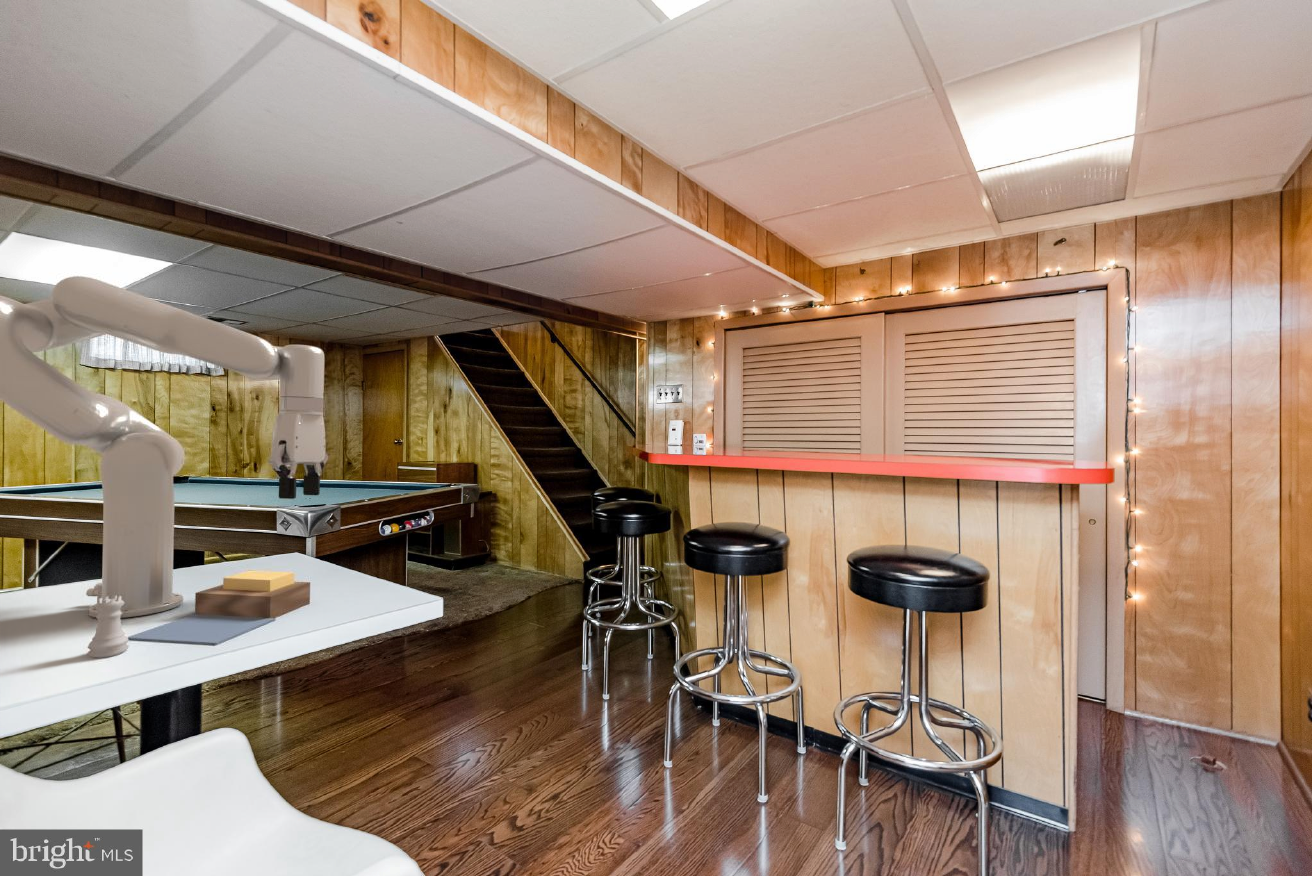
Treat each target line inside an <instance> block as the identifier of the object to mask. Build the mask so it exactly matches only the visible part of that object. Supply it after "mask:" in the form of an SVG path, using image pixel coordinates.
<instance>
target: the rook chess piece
mask: <svg viewBox="0 0 1312 876" xmlns="http://www.w3.org/2000/svg"><path fill="white" fill-rule="evenodd" d="M108 598H109V597H108V596H107V597H104V600H102V598H99V599H98V600H97V599H96V603H95V604H96V605H95V604H94V605H95V606H94V608H95V609H96V610H97V611H98V615H97V616H96V617H95V619H97V625H96V628H95V629H96V630H95V634H94V636H93V637H92V640H91V641H90V642H88V646H87V649H88V650H89V651H88V652H87V653H86V655H87V656H88V657H89V658H91V659H105V658H111V657H117V656H119V655H121V654H124V653H125V652H126V651H128V649H129V648H130V645H128V643H129V641H130V640H128V637H129V636H126V633H125V632H124V631H123V628H122V621H121V618H120V616H121V614H122V612H121V611H120V608H121V607H122V606H123V604H124V603H125V602H124V601H123V600H121V596H118V598H117V596H112V599H108Z"/></svg>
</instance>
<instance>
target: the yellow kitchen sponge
mask: <svg viewBox="0 0 1312 876" xmlns="http://www.w3.org/2000/svg"><path fill="white" fill-rule="evenodd" d="M222 581H223V582H222V583H223V584H222V585H223V589H232V590H252V591H273V590H276V589H279V588H281V587H284V586H287V585H290V584H293V583H294V582H295V571H294V572H293V571H291V572H290V571H274V570H273V571H272V570H267V571H266V570H247V571H243V572H240V573H236V574H233V575H228V576H226V577H223V580H222Z"/></svg>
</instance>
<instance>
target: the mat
mask: <svg viewBox="0 0 1312 876" xmlns="http://www.w3.org/2000/svg"><path fill="white" fill-rule="evenodd" d="M276 618H277V617H276ZM276 618H259V617H240V616H222V615H204V614H195V613H194V614H191V615H188V616H185V617H183V618H180V619H177V620H173V621H171V622H168V623H167V622H166V623H165V624H162V625H161V624H160V625H159V626H156V627H153V628H151V629H146V630H144V631H142V632H139V633H138V632H137V633H136V634H133V635H130V636H127V637H128V640H129V641H130V640H131V641H146V642H161V643H175V644H176V643H178V644H193V645H197V644H198V645H210V646H211V645H213V646H218V645H221V644H222V643H224V642H228V641H229V640H233V639H234V638H237V637H239V636H242V635H243V634H245V633H249V632H250V631H253V630H256V629H257V628H261V627H263V626H265V625H267V624H270V623H272V622H274V621H275V622H276Z"/></svg>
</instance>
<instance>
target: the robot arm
mask: <svg viewBox="0 0 1312 876" xmlns="http://www.w3.org/2000/svg"><path fill="white" fill-rule="evenodd" d="M105 335H109V336H111V337H115V338H118V339H121V340H124V341H127V342H130V343H133V344H136V345H138V346H142V347H145V348H149V349H151V350H153V351H158V352H160V353H163V354H170V355H180V356H183V357H184V356H185V357H188V358H191V359H194V360H198V361H202V362H205V363H206V364H207V363H208V364H211V365H214V366H217V367H220V368H224V369H226V370H229V371H231V372H233V373H234V372H235V373H237V374H241V375H242V376H243V377H245V378H246V379H247V378H248V379H249V380H253V381H257V382H258V381H279V412H278V413H277V414H276V416H275V420H274V424H273V428H272V429H273V430H272V438H271V445H270V446H271V449H270V457H269V458H268V462H269V464H270V465H271V466H272V468H273V471H275V474H276V478H278V498H279V499H280V500H281V499H282V500H283V499H287V500H290V499H291V500H294V499H296V498H297V477H295V475H296V472H297V467H298V465H299V464H300V465H303V468H304V471H305V475H303V486H302V487H303V488H302V489H303V490H302V491H303V492H302V494H303V495H304V496H319V495H320V491H321V489H320V488H321V484H320V483H321V476H322V475H323V469H324V468H325V465H326V463H327V462H328V460H329V455H328V454H327V452H326V428H325V427H326V426H325V420H324V399H325V398H324V397H325V395H324V393H325V392H324V391H325V389H324V387H325V353H324V351H323V349H321V348H320V347H317V346H314V345H306V344H287V345H285V346H278V345H277V346H275V345H273V344H272V343H270V342H269V341H267V340H265V339H264V338H262V337H259V336H257V335H254V334H252V333H249V332H246V331H244V330H240V329H238V328H235V327H232V326H229V325H227V324H223V323H221V322H217V321H216V320H212V319H209V318H207V317H203V316H200V315H197V314H194V313H192V312H189V311H187V310H184V309H180V308H178V307H175V306H173V305H169V304H166V303H164V302H161V301H157V300H155V299H152V298H150V297H147V296H145V295H141V294H139V293H136V292H133V291H130V290H127V289H126V288H122V287H119V286H117V285H113V284H111V283H108V282H106V281H102V280H100V279H97V278H96V279H95V278H93V277H90V276H89V277H88V276H79V275H78V276H77V275H76V276H75V275H73V276H70V277H69V276H68V277H65V278H64V279H62V280H60V281H58V282H57V283H56V284H55V286H54V287H53V289H52V290H51V295H50V297H49V298H46V299H42V300H41V299H40V300H37V301H33V302H28V303H24V302H21V301H19V300H16V299H13V298H11V297H7V296H5V295H4V296H3V295H0V401H1V402H3V403H4V404H6V405H7V406H8V407H10V408H11V409H13V410H14V411H16V412H17V413H18V414H20V415H22V416H23V417H25V418H26V419H28V420H29V421H30V422H32V423H33V424H35V425H36V426H39V427H40V428H41V429H42V430H44V431H46V432H47V433H48V434H50V435H51V436H52V437H54V438H55V439H57V440H59V441H61V442H62V443H65V444H69V445H73V446H86V447H88V448H89V449H91V450H93V451H94V452H96V453H98V454H99V455H101V459H100V467H99V468H100V478H101V479H100V480H101V487H102V497H103V498H102V499H103V509H102V510H103V511H102V513H103V514H102V517H103V518H102V519H103V520H102V525H103V527H102V529H103V530H102V531H103V532H102V538H103V539H102V570H101V571H102V572H101V573H102V576H101V582H98V583H96V584H95V585H94V586H93V588H89V589H86V591H85V592H86V593H85V594H86V596H88V597H96V601H97V600H98V599H99V598H102V600H104V597H107V596H108V597H109V598H108V599H112V596H117V598H118V596H121V600H123V601H124V602H125V603H124V604H123V606H122V607H121V608H120V611H121V612H122V614H121V616H120V619H122V618H131V617H132V618H133V617H134V618H135V617H141V616H146V615H147V616H148V615H151V614H156V613H161V612H165V611H168V610H172V609H175V608H177V607H179V606H181V605H182V604H183V603H184V596H183V595H182V594H180V593H175V592H174V593H173V586H174V585H173V584H174V583H173V582H174V581H173V579H174V577H173V576H174V545H175V544H174V543H175V542H174V541H175V540H174V537H175V489H174V476H175V475H177V474H178V473H179V472H180V471H181V470H182V468H183V466H184V463H185V461H186V455H185V454H186V453H185V450H184V448H183V446H182V444H181V443H180V442H179V441H178V440H177V439H176V438H175V437H173V436H172V435H170V434H169V433H167V432H166V431H165V430H163V429H162V428H160V427H159V426H158V425H156V424H155V423H153V422H152V421H150V420H149V419H148V418H146V417H145V416H143V415H141V414H140V413H138V412H137V411H136V410H134V409H133V408H132V407H130V406H128V405H127V404H125V402H122V401H121V400H119V399H117V398H116V397H112V396H110V395H106V394H102V393H98V392H94V391H91V390H89V389H87V388H85V387H83V386H82V385H81V384H79V383H77V382H75V380H73V379H71V378H69V377H68V376H67V375H65V374H64V373H62V372H61V371H59V370H58V369H57V368H56V367H55V366H53V365H52V364H50V363H48V362H47V361H45V360H44V359H42V358H40V357H39V356H37V355H36V354H35V353H39V352H43V351H49V350H52V349H55V348H56V349H57V348H61V347H63V346H69V345H71V344H75V343H79V342H83V341H88V340H91V339H95V338H99V337H101V336H105ZM288 467H289V468H288ZM96 604H97V603H95V604H93V605H91V606H89V608H88V614H89V616H90V617H91V618H92V617H93V618H96V616H97V615H98V611H97V610H96V609H95V608H94V606H95V605H96Z"/></svg>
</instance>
